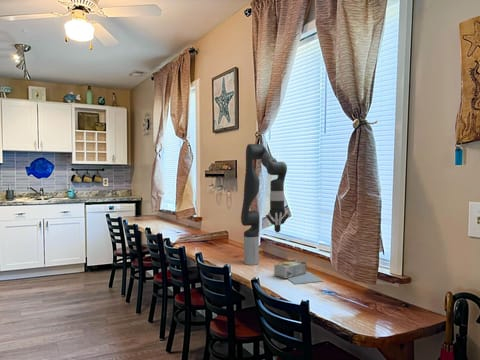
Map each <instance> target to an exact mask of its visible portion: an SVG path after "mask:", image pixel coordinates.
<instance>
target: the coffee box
mask: <svg viewBox="0 0 480 360" xmlns="http://www.w3.org/2000/svg"><path fill="white" fill-rule="evenodd" d="M273 268H274V269H273V271H274V276H276V277H279V278H282V279H287V278H289V277H293V276H297V275H301V274H305V273H306V272H307V262H305V261H301V260H298V259H291V260H289V261H283V262H279V263H274V264H273Z"/></svg>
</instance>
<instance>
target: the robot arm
mask: <svg viewBox="0 0 480 360" xmlns="http://www.w3.org/2000/svg"><path fill="white" fill-rule="evenodd" d="M253 160H260V162H261V165H262V166H263V167H264V168H266V172H267V174H268V175H270V176H277V178H275V179H272V180H270V185H269V189H270V193H269V211H268V212H269V213H268V214H266V215H265V218H266V219H267V220H268V221H269V223H271V225H274V228H273V230H274V232H275V233H280V232H281V225H283V224H284V223H286V221H287V219H288V218H289V216H290V214H289V213H286V210H285V191H284V190H285V186H284V185H285V179H286V175H287V172H288V165H287V163H286V162H284V161H278V160H277V159H276V158H275V157H273V156H272V155H271V154H270V153H269V151H268V150H267V148H266V147H265V146H264V145H263V144H259V143H257V144H256V143H249V144H247V146H246V149H245V174H244V185H243V199H242V206H241V214H240V222H241V225H242V226H243V227H245V226H246V227H247V226H251V227H250V228H248V229H246V230H245V231H243V258H244V259H243V260H244V261H243V263H244V265H247V266H255V265H259V263H260V260H259V259H260V251H259V246H260V245H259V243H260V242H259V233H260V213H259V211H258V210H251V209H250V208H251V205H252V203H253V201H254V200H255V199H256V197H257V195H258V194H259V191H260V177H258V173H257V172H256V170H255V169H254V164H253Z"/></svg>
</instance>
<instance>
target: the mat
mask: <svg viewBox="0 0 480 360" xmlns="http://www.w3.org/2000/svg"><path fill="white" fill-rule="evenodd" d="M286 279H287V280H288V282H289V281H290V282H291V283H292V285H293V284H294V285H301V284H302V285H304V284H313V283H322V282H324V280H322V279H321V278H319V277H317V275H314V274H313V273H311V272H309V271H306V273H305V274H301V275H297V276H293V277H289V278H286Z"/></svg>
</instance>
